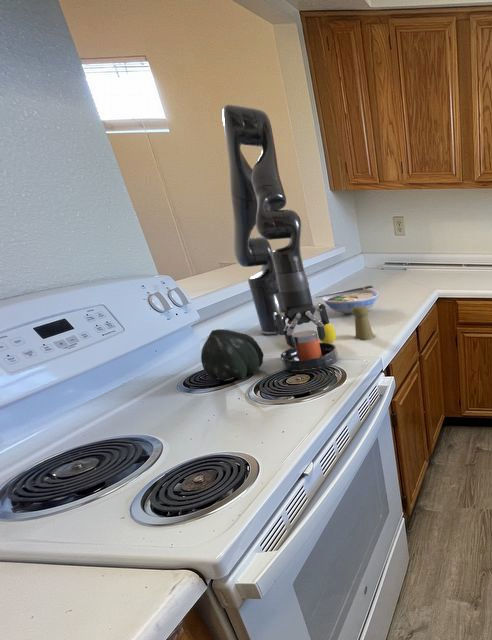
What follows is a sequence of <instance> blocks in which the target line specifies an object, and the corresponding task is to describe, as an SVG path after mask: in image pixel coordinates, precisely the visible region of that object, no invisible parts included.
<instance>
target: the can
mask: <svg viewBox="0 0 492 640" xmlns="http://www.w3.org/2000/svg"><path fill="white" fill-rule="evenodd" d="M292 336H293V340H294V344H295V348H296V352H297V356H298V359H299V360H308V359H313V358H317V357H321V356H322V353H321V349H320V344H319V343H320V339H319V337H318V333H317V330H313V329H306V330H300V331H297V332H294V333H293V334H292Z"/></svg>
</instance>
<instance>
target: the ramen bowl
mask: <svg viewBox="0 0 492 640" xmlns="http://www.w3.org/2000/svg"><path fill="white" fill-rule="evenodd" d="M373 288H374V286H373V285H366V286H362V287H356V288H353V289H352V288H351V289H346V290H340V291H334V292H331V293H329V294H324V295H320V296H315V299H317V298H321V299H322V300H323V301H324V303H325V304H326V306H328V307H329V308H330V309H331V310H332V311H334V312H338V313H343V314H345V315H353V313H352V310H353V308H354V307H356V306H366V307H367V308H368V309H370V308H372V307H373V306H374V305H375V303H376V302H377V300H378V297H379V295H380V291H378V290H376V289H373Z"/></svg>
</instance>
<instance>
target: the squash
mask: <svg viewBox="0 0 492 640" xmlns="http://www.w3.org/2000/svg"><path fill="white" fill-rule="evenodd" d="M200 353H201V354H200V361H201V365H202V368H203V371H204V373H206V375H207V376H208V377H209V378H210V379H211V380H214V379H217V378H219V380H218V381H222V380H226V379H230V378H232V377H234V378H233V379H230V380H226V381H225V382H232V381H233V380H235V379H236V380H238V379H237V378H241V379H240V380H244V379H246V378H247V376H248V377H249V376H250V377H251V376H254V375H256V374H257V373H258V371H259V368H260V367H262V365H263V364H264V352H263V350H262V348H261V346H260V345H259V344H258V342H257V341H256V340H255V338H253V337H252V336H251V335H249V334H247V333H242V332H238V331H233V330H229V329H223V328H222V329H221V328H220V329H219V328H217V329H213V330H211V331H210V333H209V335H208V337H207V339H206V341H205V342H204V344H203V346H202V349H201V352H200Z"/></svg>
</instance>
